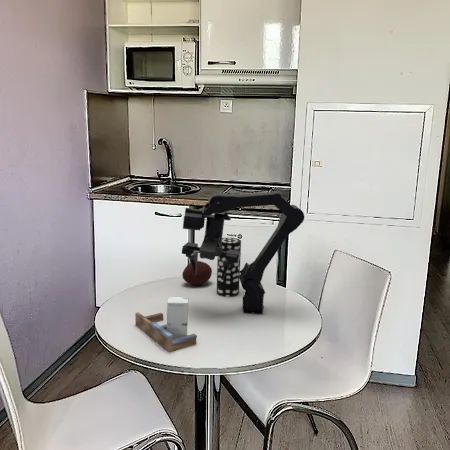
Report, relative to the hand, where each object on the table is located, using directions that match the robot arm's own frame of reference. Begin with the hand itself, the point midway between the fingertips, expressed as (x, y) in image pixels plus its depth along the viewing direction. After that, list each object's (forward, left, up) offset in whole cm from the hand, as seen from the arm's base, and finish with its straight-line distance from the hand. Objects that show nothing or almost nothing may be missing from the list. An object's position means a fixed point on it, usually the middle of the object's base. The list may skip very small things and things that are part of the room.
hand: (208, 277), depth 162 cm
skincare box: (+5, +23, -12) cm, 26 cm away
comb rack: (+9, +21, -12) cm, 25 cm away
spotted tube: (-4, -18, -12) cm, 22 cm away
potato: (+9, -24, -12) cm, 28 cm away
